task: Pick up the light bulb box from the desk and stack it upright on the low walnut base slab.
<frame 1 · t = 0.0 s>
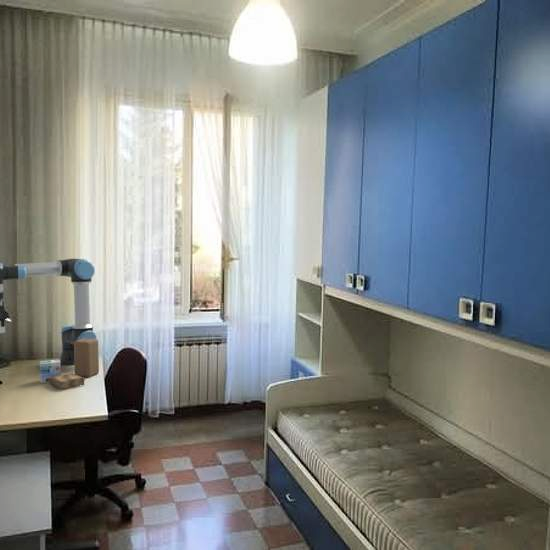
wooden block: (87, 375, 322), on the table
base slab: (66, 385, 301), on the table
light bulb box: (50, 381, 310), on the table
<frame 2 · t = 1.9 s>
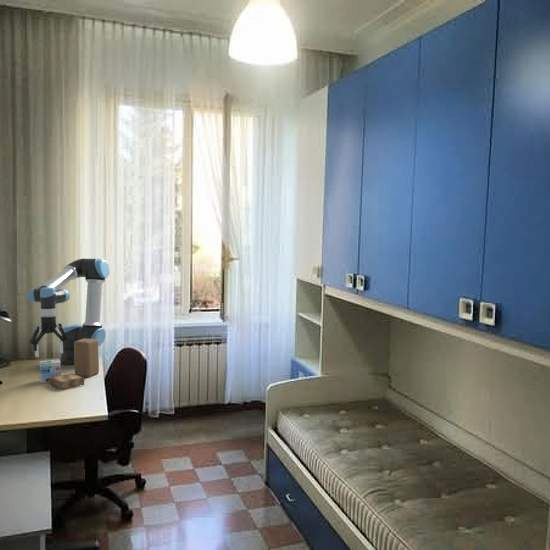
hand: (49, 354, 308), 15 cm above the table, tool pointing down, fingers open, 13 cm apart
nothing on the table moved.
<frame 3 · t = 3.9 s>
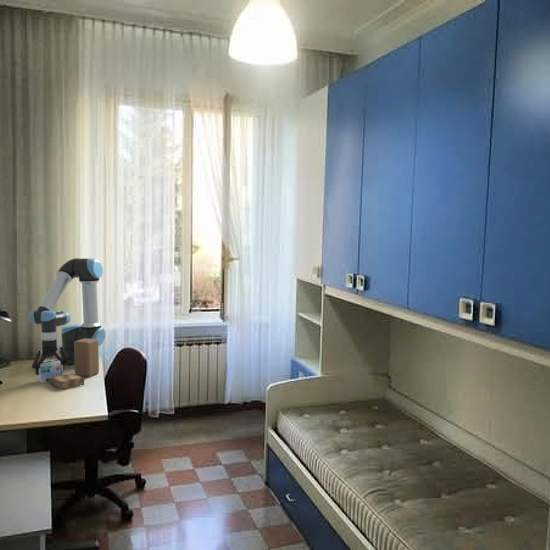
hand: (50, 378, 310), 1 cm above the table, tool pointing down, fingers closed on light bulb box, 12 cm apart
light bulb box: (50, 381, 310), on the table, touching gripper
everything else where it was.
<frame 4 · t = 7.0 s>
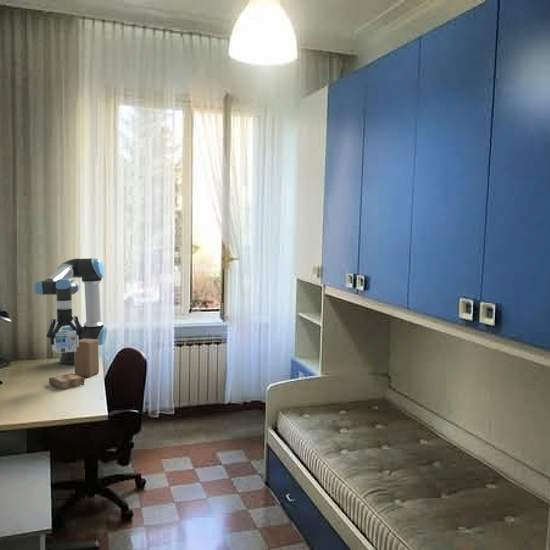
hand: (65, 348, 300), 20 cm above the table, tool pointing down, fingers closed on light bulb box, 12 cm apart
light bulb box: (65, 351, 300), point 18 cm above the table, touching gripper
everything else where it was.
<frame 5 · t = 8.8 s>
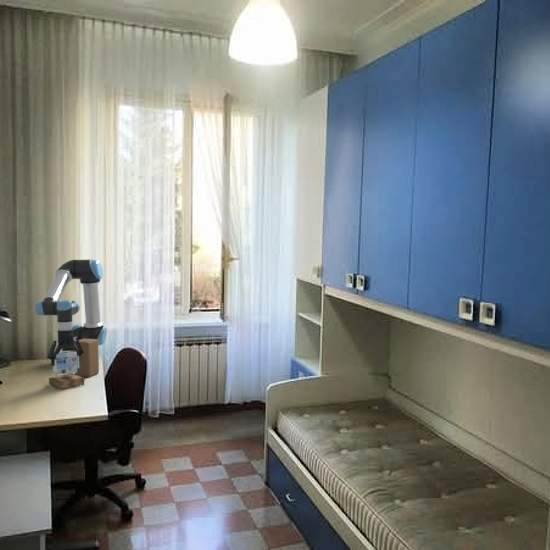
hand: (66, 369, 301), 8 cm above the table, tool pointing down, fingers closed on light bulb box, 12 cm apart
light bulb box: (66, 372, 301), point 7 cm above the table, touching gripper
everything else where it was.
when the fingers open (7 cm above the table, at t = 10.3 s): light bulb box drops 1 cm, resting on base slab.
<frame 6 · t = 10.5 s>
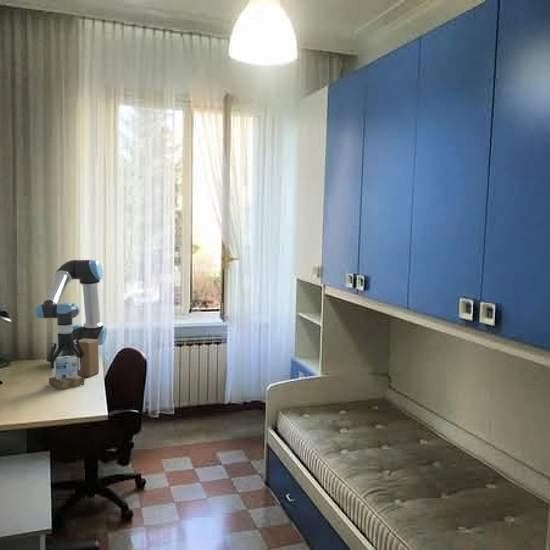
hand: (66, 371, 301), 7 cm above the table, tool pointing down, fingers open, 13 cm apart
light bulb box: (66, 377, 301), point 4 cm above the table, touching base slab
everything else where it was.
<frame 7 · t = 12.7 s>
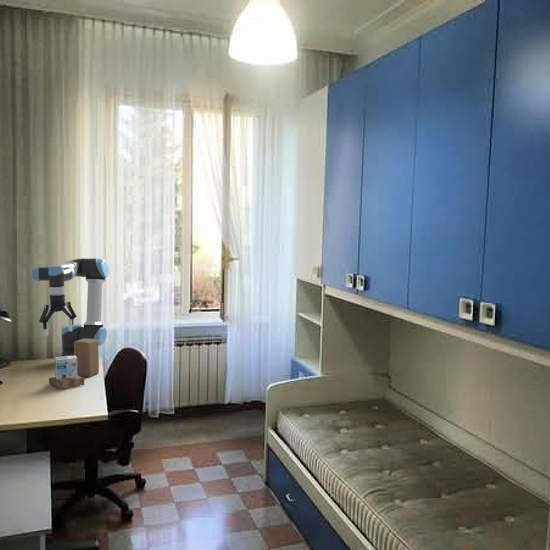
hand: (58, 333, 307), 27 cm above the table, tool pointing down, fingers open, 13 cm apart
nothing on the table moved.
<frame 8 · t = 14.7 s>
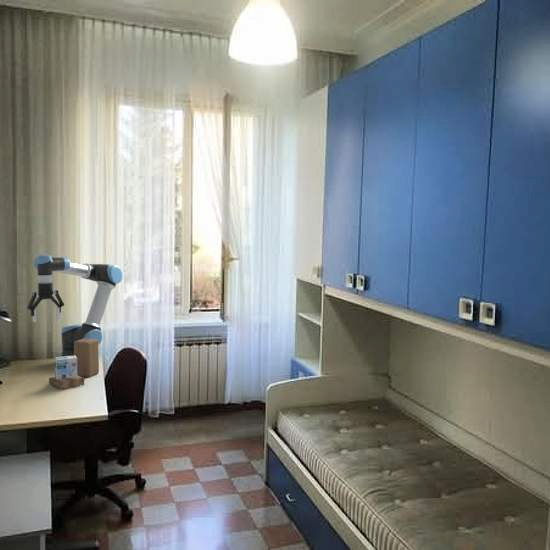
hand: (46, 320, 317), 32 cm above the table, tool pointing down, fingers open, 13 cm apart
nothing on the table moved.
at the end: light bulb box inside the target area on the base slab (0.0 cm from its centre), point 4.0 cm above the base slab's base; light bulb box tilted 0°; the gripper is holding nothing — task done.
